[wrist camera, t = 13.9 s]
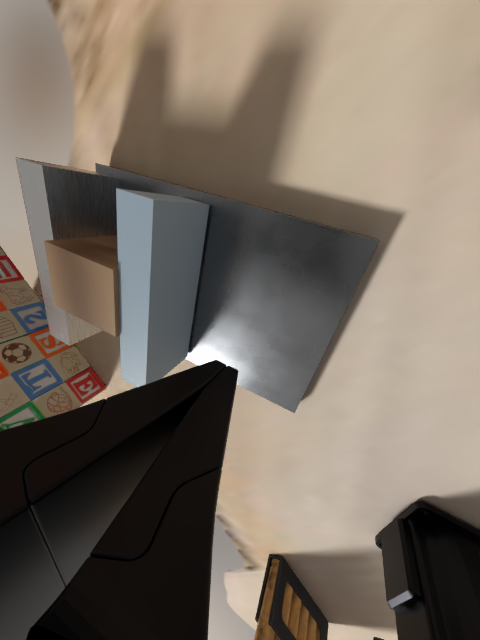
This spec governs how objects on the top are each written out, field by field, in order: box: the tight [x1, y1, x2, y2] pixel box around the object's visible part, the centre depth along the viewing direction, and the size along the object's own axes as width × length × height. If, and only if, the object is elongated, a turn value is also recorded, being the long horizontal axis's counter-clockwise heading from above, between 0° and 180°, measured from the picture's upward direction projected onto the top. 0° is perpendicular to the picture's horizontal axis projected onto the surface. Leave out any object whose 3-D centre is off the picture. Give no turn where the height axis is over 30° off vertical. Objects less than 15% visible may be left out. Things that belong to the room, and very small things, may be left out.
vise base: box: [16, 158, 380, 413], centre depth 15 cm, size 18×12×6 cm, turn 79°
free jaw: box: [116, 188, 209, 387], centre depth 14 cm, size 2×11×4 cm, turn 169°
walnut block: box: [44, 235, 120, 337], centre depth 15 cm, size 5×4×5 cm
